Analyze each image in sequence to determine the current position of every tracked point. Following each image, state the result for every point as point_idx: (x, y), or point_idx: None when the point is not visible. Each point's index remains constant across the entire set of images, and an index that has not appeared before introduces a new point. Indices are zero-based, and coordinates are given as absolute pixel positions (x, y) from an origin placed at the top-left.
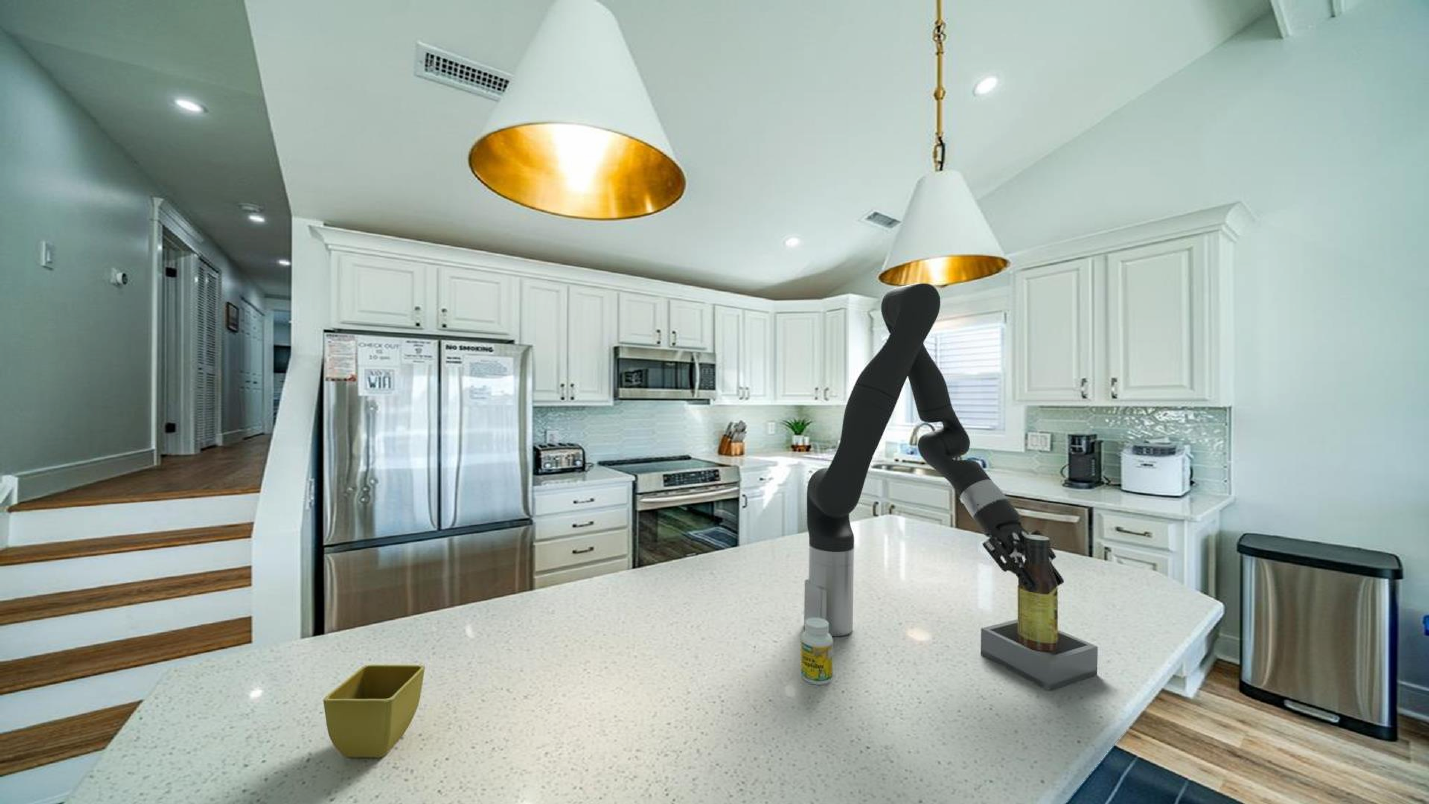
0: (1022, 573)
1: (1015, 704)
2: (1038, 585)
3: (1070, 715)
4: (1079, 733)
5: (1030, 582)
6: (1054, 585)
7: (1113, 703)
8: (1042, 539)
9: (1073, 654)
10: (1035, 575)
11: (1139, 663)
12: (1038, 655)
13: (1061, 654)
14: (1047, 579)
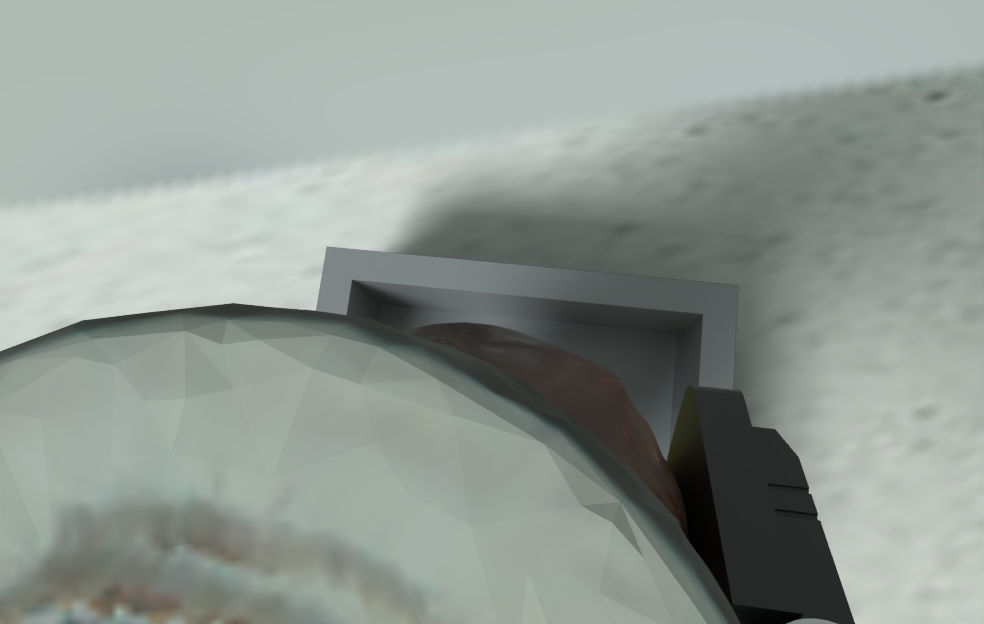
0: (838, 585)
1: (940, 331)
2: (707, 388)
3: (798, 186)
4: (884, 116)
5: (772, 461)
6: (469, 327)
7: (552, 149)
8: (459, 470)
9: (534, 267)
10: (653, 468)
11: (96, 240)
12: (732, 348)
13: (603, 293)
14: (541, 361)
